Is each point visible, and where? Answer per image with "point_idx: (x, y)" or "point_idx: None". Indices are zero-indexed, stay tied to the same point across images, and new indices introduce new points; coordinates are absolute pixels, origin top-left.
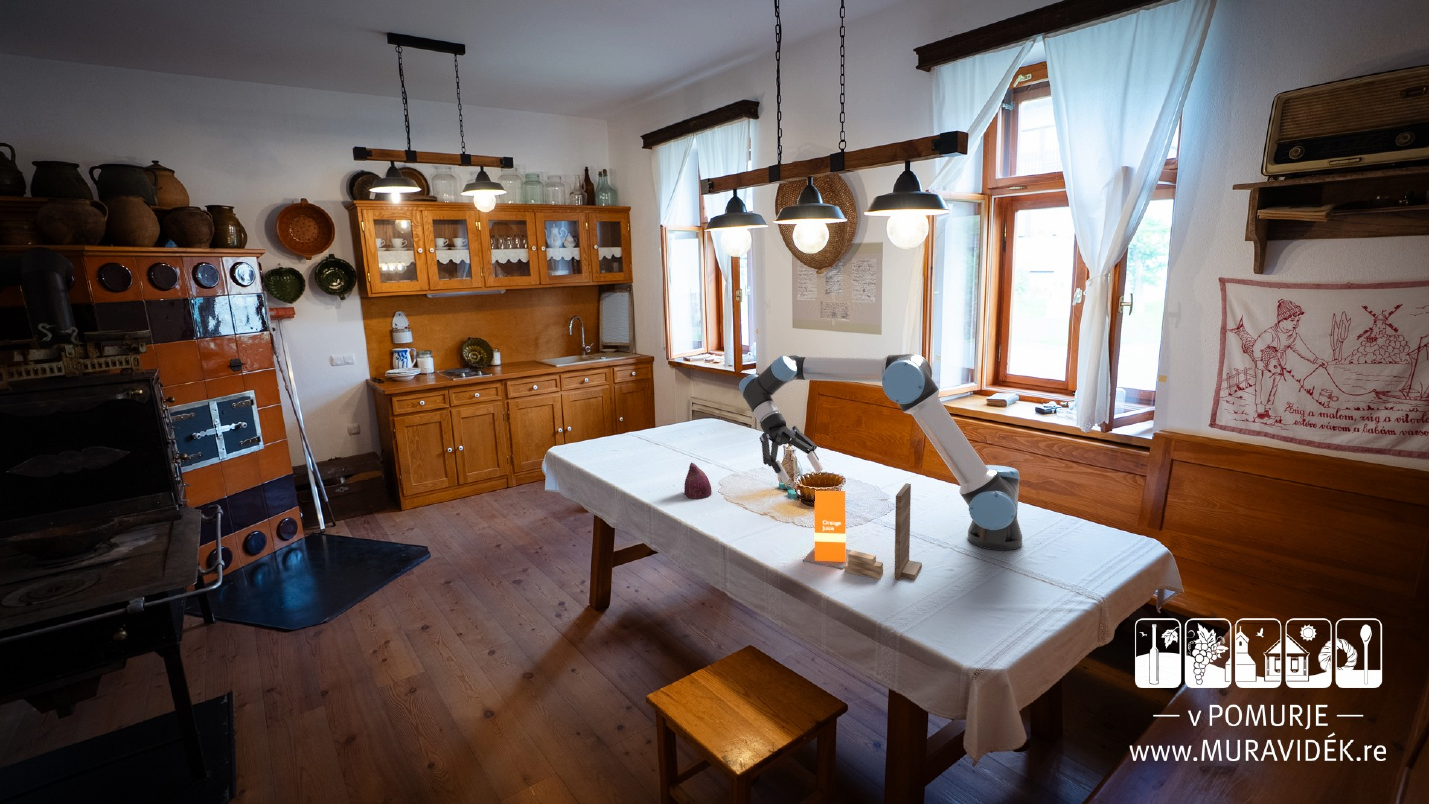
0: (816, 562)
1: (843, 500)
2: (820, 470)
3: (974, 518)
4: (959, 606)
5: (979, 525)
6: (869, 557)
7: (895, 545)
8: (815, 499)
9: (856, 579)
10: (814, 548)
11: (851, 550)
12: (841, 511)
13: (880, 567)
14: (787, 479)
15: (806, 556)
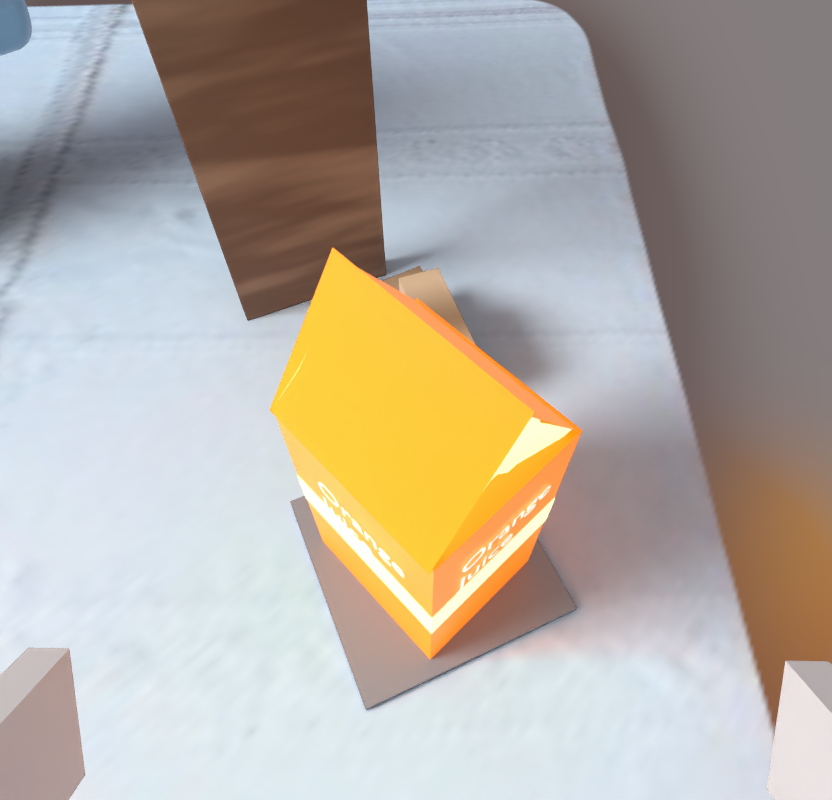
0: (536, 540)
1: (379, 282)
2: (68, 686)
3: (27, 9)
4: (383, 114)
5: (30, 36)
6: (433, 283)
7: (376, 159)
8: (548, 418)
9: (494, 347)
10: (426, 674)
11: (300, 520)
12: (427, 311)
13: (420, 269)
14: (826, 672)
15: (532, 627)
